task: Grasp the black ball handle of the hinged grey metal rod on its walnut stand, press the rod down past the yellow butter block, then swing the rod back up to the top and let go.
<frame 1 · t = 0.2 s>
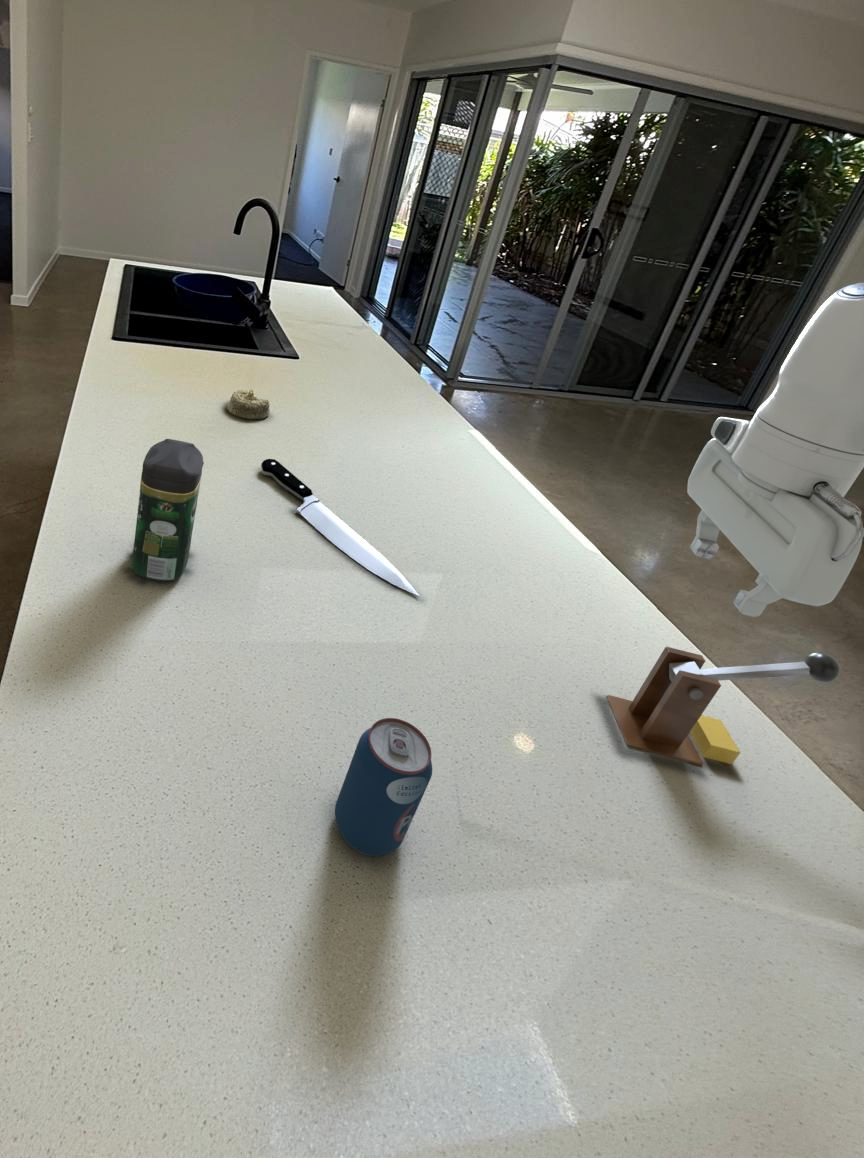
hand: (720, 581, 66), 27 cm above the counter, tool pointing down, fingers open, 8 cm apart
cutter stand: (648, 734, 83), on the counter
grey metal rod: (753, 671, 77), point 13 cm above the counter, hinge at 25.0°
cake: (248, 411, 150), on the counter
butter: (704, 748, 82), on the counter
chef knife: (330, 525, 113), on the counter
coffee jar: (159, 564, 95), on the counter
soda can: (365, 828, 64), on the counter
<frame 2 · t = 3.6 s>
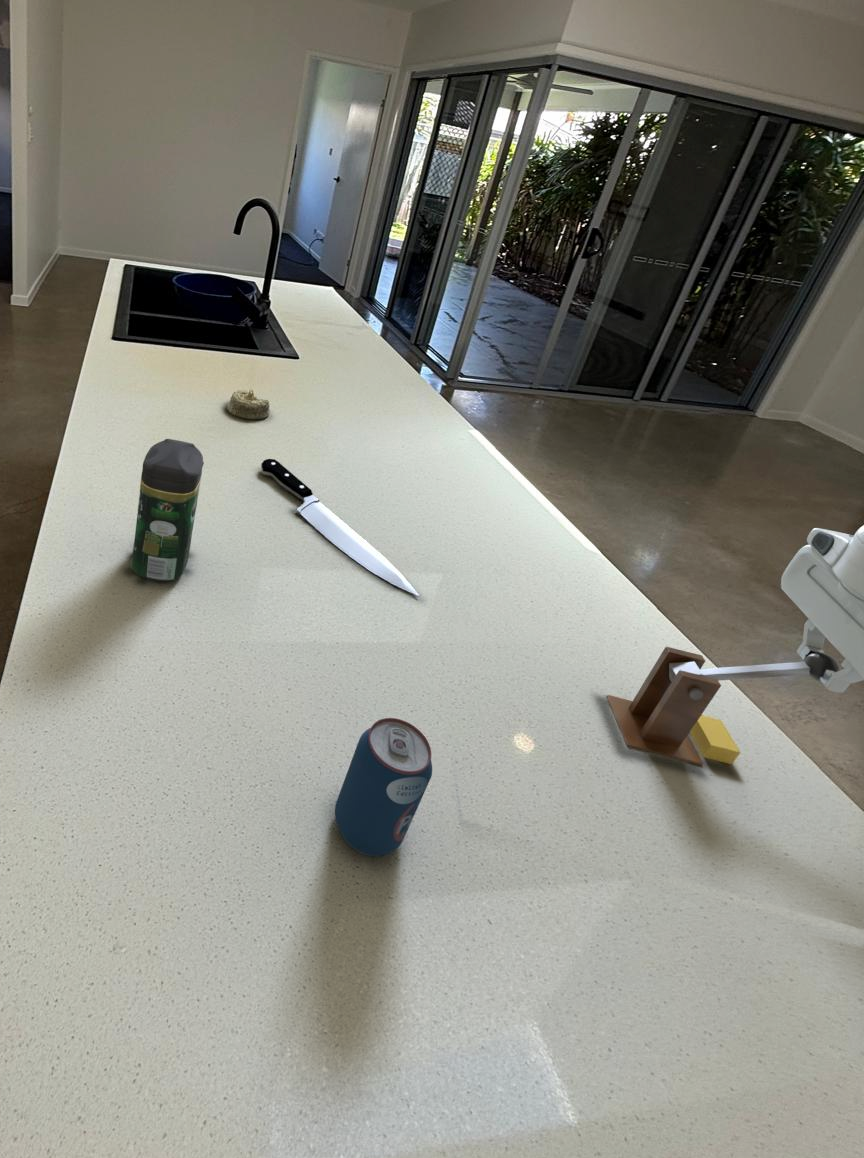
hand: (817, 672, 75), 15 cm above the counter, tool pointing down, fingers closed on grey metal rod, 3 cm apart
grey metal rod: (753, 671, 77), point 13 cm above the counter, hinge at 25.0°, touching gripper
everything else where it was.
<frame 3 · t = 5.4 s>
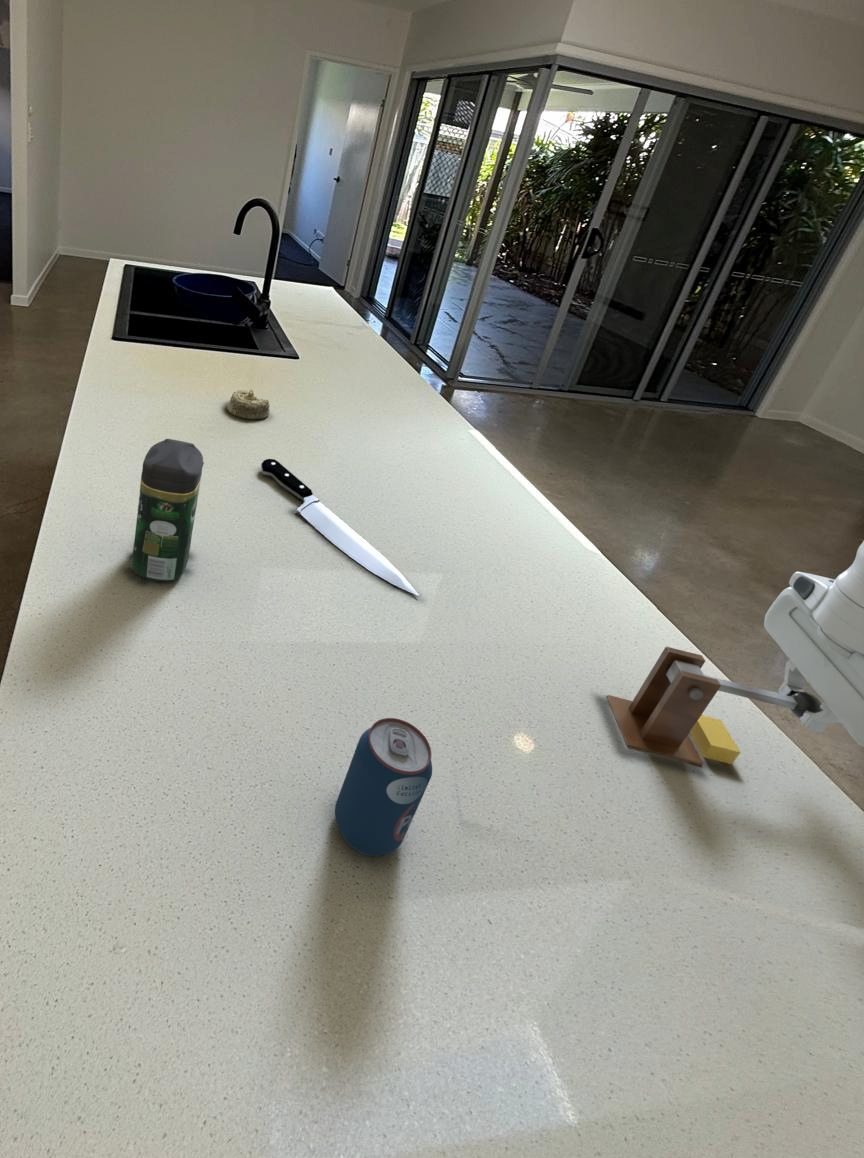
hand: (797, 712, 78), 9 cm above the counter, tool pointing down, fingers closed on grey metal rod, 3 cm apart
grey metal rod: (746, 691, 78), point 10 cm above the counter, hinge at 0.3°, touching gripper
everything else where it was.
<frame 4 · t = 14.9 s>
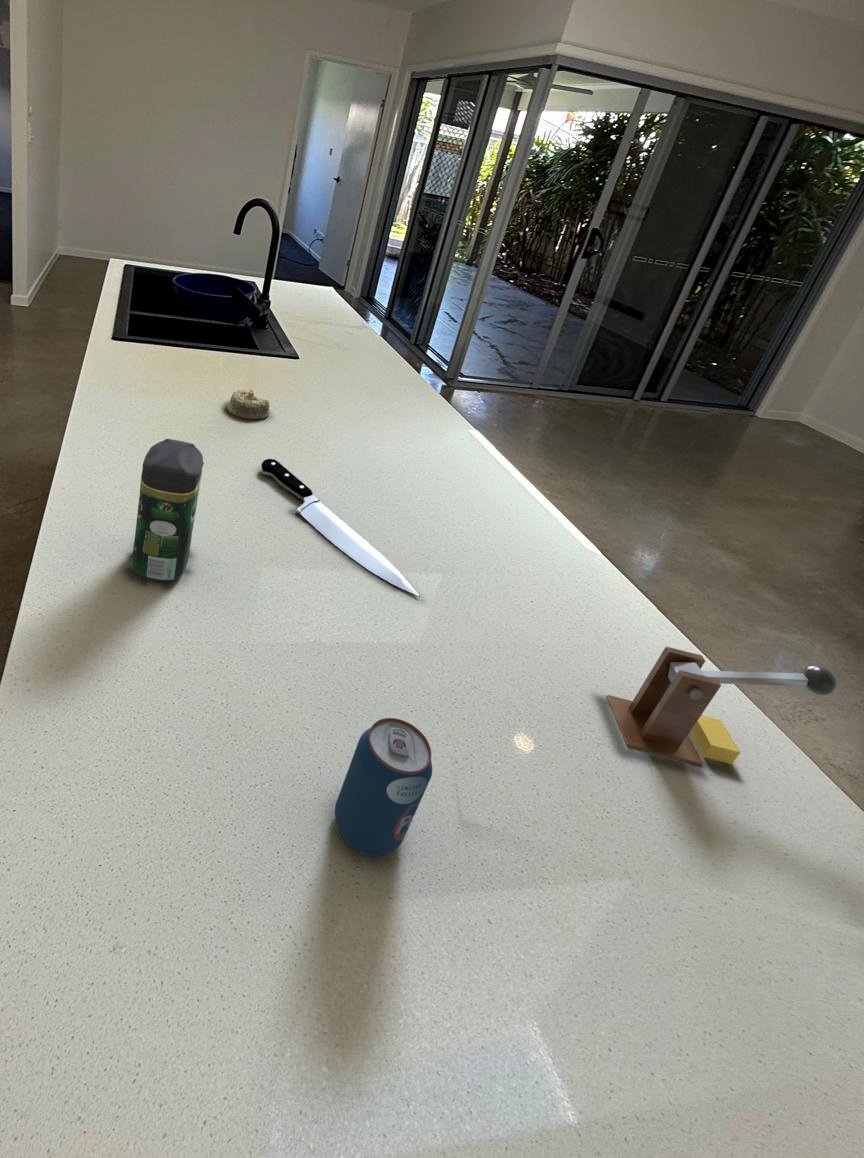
grey metal rod: (752, 678, 77), point 12 cm above the counter, hinge at 17.0°
everything else where it was.
at the end: grey metal rod reached -18° during the clip, +17° at the end; grey metal rod at +17° (first picture: +25°); butter moved 0.0 cm from its start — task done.
